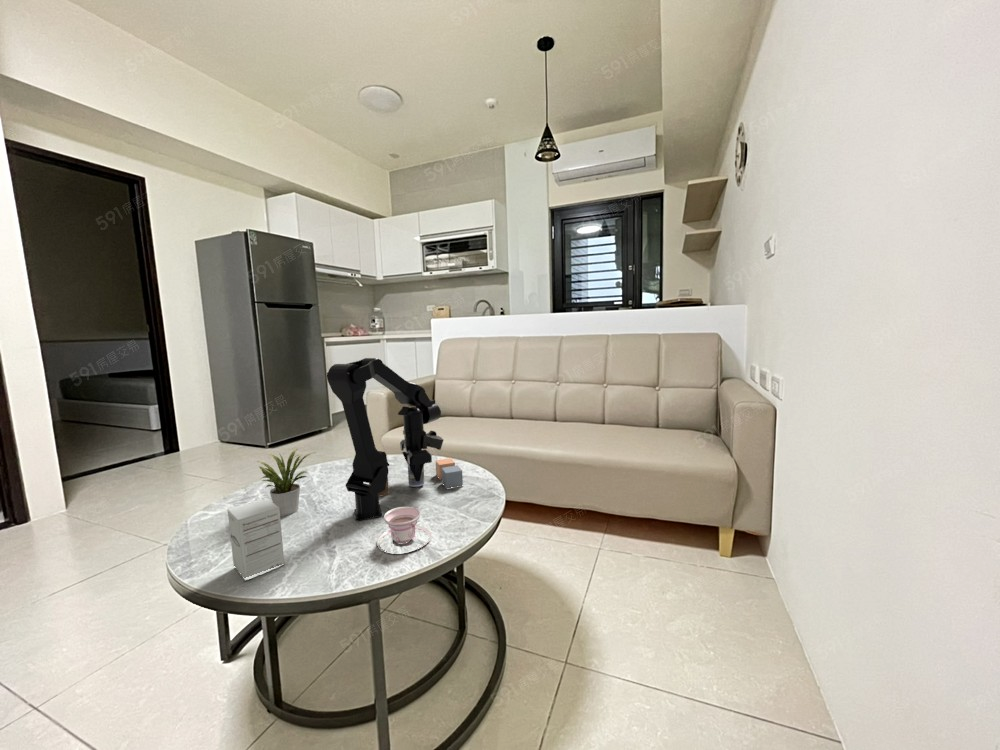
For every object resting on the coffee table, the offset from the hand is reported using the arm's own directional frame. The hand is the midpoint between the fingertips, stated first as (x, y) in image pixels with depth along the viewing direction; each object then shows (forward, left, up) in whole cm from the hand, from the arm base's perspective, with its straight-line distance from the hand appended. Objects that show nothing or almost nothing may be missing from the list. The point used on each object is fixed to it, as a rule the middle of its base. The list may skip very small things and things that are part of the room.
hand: (416, 478), depth 119 cm
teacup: (-30, +8, -3) cm, 31 cm away
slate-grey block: (-4, -10, -3) cm, 11 cm away
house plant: (-1, +33, -3) cm, 34 cm away
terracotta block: (+4, -10, -3) cm, 11 cm away
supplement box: (-28, +37, -3) cm, 46 cm away
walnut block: (0, +11, -3) cm, 11 cm away
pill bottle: (0, 0, -2) cm, 2 cm away
